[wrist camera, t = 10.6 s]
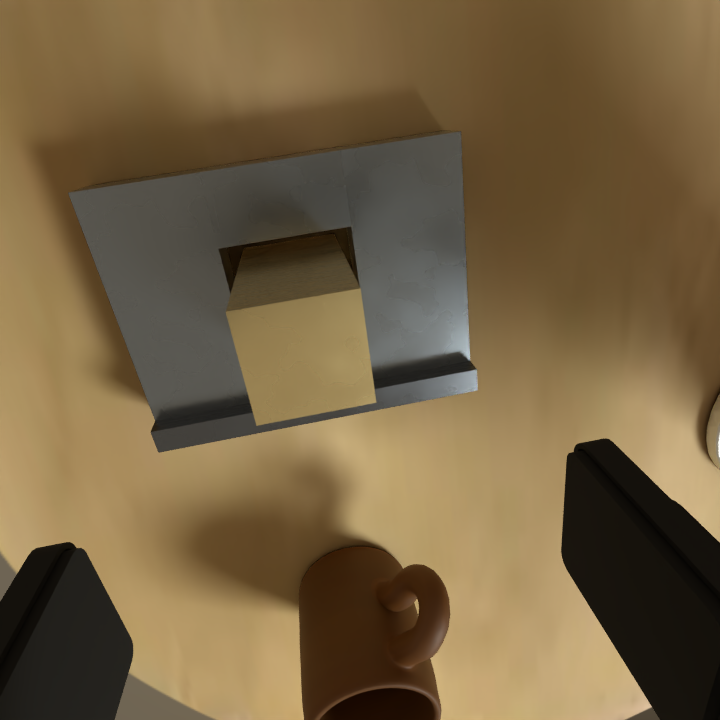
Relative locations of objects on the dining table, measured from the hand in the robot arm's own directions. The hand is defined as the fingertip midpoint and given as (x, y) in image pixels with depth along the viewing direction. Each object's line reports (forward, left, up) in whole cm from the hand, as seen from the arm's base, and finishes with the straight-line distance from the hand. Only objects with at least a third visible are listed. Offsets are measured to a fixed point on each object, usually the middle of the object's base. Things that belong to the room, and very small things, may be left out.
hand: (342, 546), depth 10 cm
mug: (-1, +20, -18) cm, 26 cm away
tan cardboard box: (0, 0, -17) cm, 17 cm away
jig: (0, 0, -17) cm, 17 cm away
